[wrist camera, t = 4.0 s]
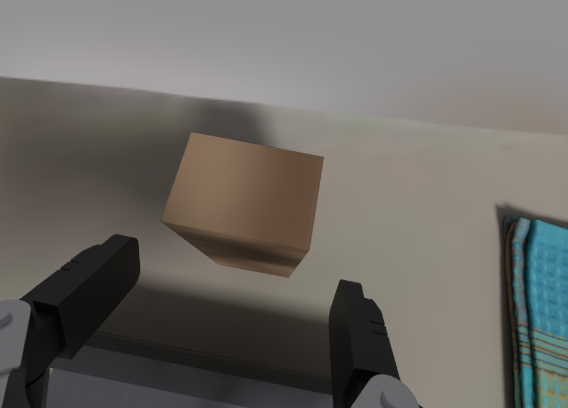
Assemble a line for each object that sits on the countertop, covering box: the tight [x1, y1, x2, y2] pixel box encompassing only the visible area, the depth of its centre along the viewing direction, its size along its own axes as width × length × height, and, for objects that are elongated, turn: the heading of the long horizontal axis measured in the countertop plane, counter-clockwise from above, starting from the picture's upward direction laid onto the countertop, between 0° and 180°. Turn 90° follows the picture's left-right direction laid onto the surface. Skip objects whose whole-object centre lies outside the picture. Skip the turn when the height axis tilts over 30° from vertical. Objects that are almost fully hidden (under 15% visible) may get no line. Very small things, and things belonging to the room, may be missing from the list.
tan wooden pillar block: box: [161, 132, 324, 278], centre depth 15 cm, size 5×4×11 cm
